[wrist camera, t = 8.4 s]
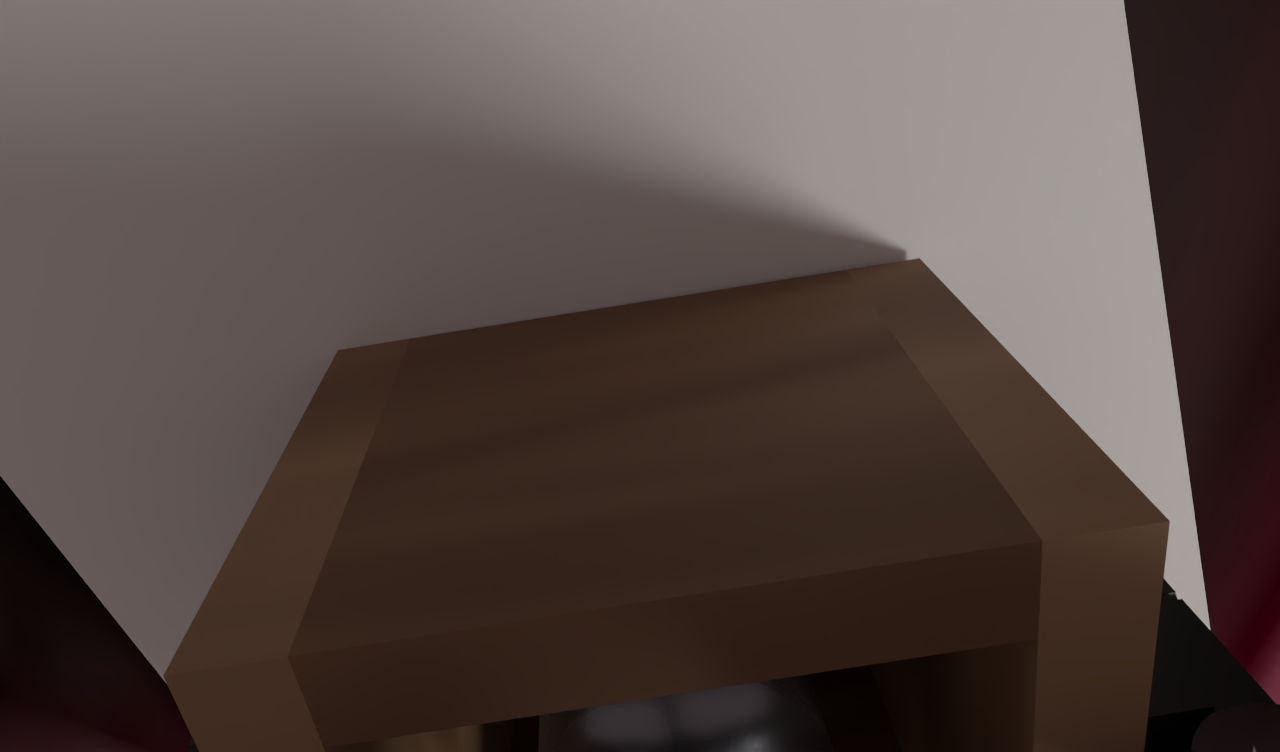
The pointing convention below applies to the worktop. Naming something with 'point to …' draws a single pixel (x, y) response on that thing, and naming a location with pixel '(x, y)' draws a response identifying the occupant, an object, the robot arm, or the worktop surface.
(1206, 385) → the worktop surface
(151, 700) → the worktop surface
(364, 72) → the board
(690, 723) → the post
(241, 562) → the open wooden box
